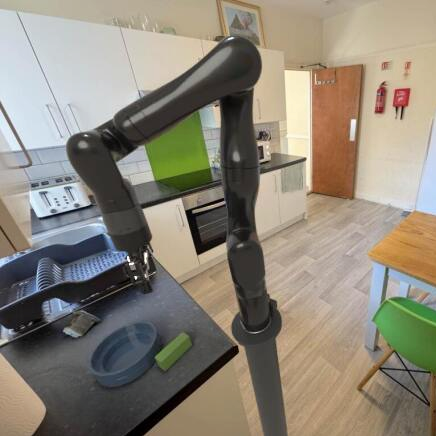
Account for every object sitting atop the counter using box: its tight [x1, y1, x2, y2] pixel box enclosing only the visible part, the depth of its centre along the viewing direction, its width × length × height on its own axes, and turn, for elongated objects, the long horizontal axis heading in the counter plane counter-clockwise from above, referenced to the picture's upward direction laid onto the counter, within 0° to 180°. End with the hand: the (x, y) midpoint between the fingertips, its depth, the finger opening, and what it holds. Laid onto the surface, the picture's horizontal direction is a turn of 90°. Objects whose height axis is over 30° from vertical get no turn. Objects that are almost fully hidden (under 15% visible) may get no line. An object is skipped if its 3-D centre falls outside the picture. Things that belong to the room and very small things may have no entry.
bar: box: [155, 331, 193, 372], centre depth 68 cm, size 9×3×4 cm, turn 149°
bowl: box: [87, 320, 162, 388], centre depth 68 cm, size 16×16×6 cm
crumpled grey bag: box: [62, 309, 102, 339], centre depth 78 cm, size 10×7×12 cm
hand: (150, 281), depth 60 cm, fingers open, 8 cm apart
